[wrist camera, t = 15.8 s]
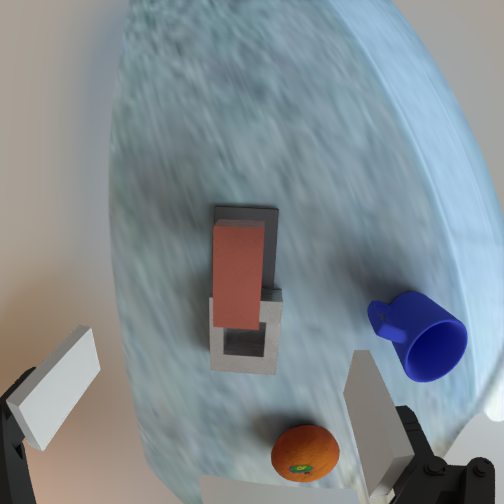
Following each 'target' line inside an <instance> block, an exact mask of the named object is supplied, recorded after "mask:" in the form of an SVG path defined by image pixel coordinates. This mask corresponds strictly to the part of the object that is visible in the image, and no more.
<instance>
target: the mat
mask: <svg viewBox="0 0 504 504" xmlns="http://www.w3.org/2000/svg"><path fill="white" fill-rule="evenodd" d="M278 213H279V209H266V208H247V207H226V206H215V212H214V225H215V223H216V222H217V221H218V220H219V219H230V220H250V221H265V229H264V248H263V265H262V283H261V287H274V274H275V259H276V245H277V229H278Z"/></svg>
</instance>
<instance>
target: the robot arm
mask: <svg viewBox="0 0 504 504" xmlns="http://www.w3.org/2000/svg"><path fill="white" fill-rule="evenodd" d="M99 371H100V365H99V361H98V357H97V353H96V348H95V344H94V339H93V334H92V329H91V327H87V326H82V325H79V326H78V327H77V328H76V329H75V330H74V331H73V332H72V333H71V334H70V335H69V336H68V337H67V338H66V339H65V340H64V341H63V342H62V343H61V344H59V346H57V348H55V350H53V351H52V353H51V354H50V355H49V356H48V357H47V358H46V359H45V360H44V361H43V362H42V363H41V364H40V365H39V366H38V367H37V368H36V367H32V368H31V369H29V370H27V371H25V372H24V373H23V374H22V375H21V376H20V378H19V379H17V380H16V381H15V384H13V385H12V386H11V387H10V388H9V389H8V390H7V391H6V392H5V393H4V394H3V395H2V396H1V398H0V504H36V500H35V496H34V493H33V488H32V484H31V480H30V475H29V470H28V465H27V460H26V454H25V448H24V445H23V443H22V441H23V439H24V438H26V440H27V441H28V443H29V444H30V446H32V447H34V448H36V449H38V450H40V451H44V449H45V448H46V446H47V445H48V443H49V442H50V440H51V439H52V437H53V436H54V434H55V433H56V431H57V430H58V429H59V427H60V426H61V424H62V423H63V421H64V420H65V418H66V417H67V415H68V414H69V413H70V411H71V410H72V408H73V407H74V406H75V404H76V403H77V401H78V400H79V399H80V397H81V396H82V394H83V393H84V392H85V390H86V389H87V387H88V386H89V385H90V383H91V382H92V380H93V379H94V378H95V376H96V375H97V373H98V372H99ZM343 394H344V398H345V402H346V405H347V409H348V413H349V417H350V420H351V424H352V428H353V432H354V436H355V440H356V444H357V448H358V452H359V456H360V460H361V464H362V468H363V473H364V477H365V481H366V486H367V490H368V494H369V498H372V497H378V496H384V495H388V494H389V492H390V491H391V490H392V488H393V489H394V493H395V496H394V497H393V499H392V500H391V501H390V503H389V504H495V469H494V465H493V464H492V463H491V461H489V460H488V459H486V458H482V457H477V458H474V459H472V460H471V461H470V462H469V463H468V464H467V466H458V465H457V466H456V465H454V466H453V465H448V464H447V463H446V462H445V460H444V459H442V458H440V457H438V456H434V454H433V452H432V450H431V447H430V445H429V443H428V441H427V439H426V436H425V434H424V432H423V430H422V428H421V426H420V424H419V423H418V419H417V417H416V415H415V413H414V412H413V411H412V410H411V409H410V408H409V407H408V406H406V405H405V406H396V407H395V406H394V404H393V401H392V399H391V397H390V394H389V392H388V390H387V388H386V386H385V383H384V381H383V379H382V377H381V374H380V372H379V370H378V368H377V366H376V364H375V361H374V359H373V357H372V355H371V353H370V351H369V350H354V354H353V358H352V362H351V366H350V370H349V374H348V378H347V381H346V385H345V389H344V392H343Z"/></svg>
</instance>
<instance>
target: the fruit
mask: <svg viewBox="0 0 504 504" xmlns="http://www.w3.org/2000/svg"><path fill="white" fill-rule="evenodd" d="M339 453H340V450H339V446H338V443H337V442H336V440H335V438H334V437H333V435H332V434H331V433H330V432H329V431H328V430H327V429H325V428H323V427H319V426H314V425H302V426H298V427H294V428H291V429H288V430H286V431H285V432H284V433H283V434H282V435H281V436H280V437H279V438H278V440H277V441H276V443H275V445H274V447H273V449H272V452H271V462H272V465H273V467H274V469H275V470H276V471H277V472H278V473H279V475H281V476H282V477H283V478H285V479H287V480H291V481H295V482H312V481H315V480H317V479H320V478H322V477H324V476H325V475H327V474H328V473H329V472H330V471H331V470H332V469H333V468H334V467H335V465H336V464H337V461H338V459H339Z"/></svg>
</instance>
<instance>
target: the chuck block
mask: <svg viewBox="0 0 504 504" xmlns="http://www.w3.org/2000/svg"><path fill="white" fill-rule="evenodd" d="M282 304H283V300H282V290H276V289H261V299H260V316H259V330H251V329H235V328H222V327H213V290H212V292H211V295H210V297H209V322H210V368H211V370H215V371H226V372H238V373H252V374H270V375H275V374H276V365H277V355H278V346H279V336H280V326H281V315H282Z"/></svg>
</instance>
